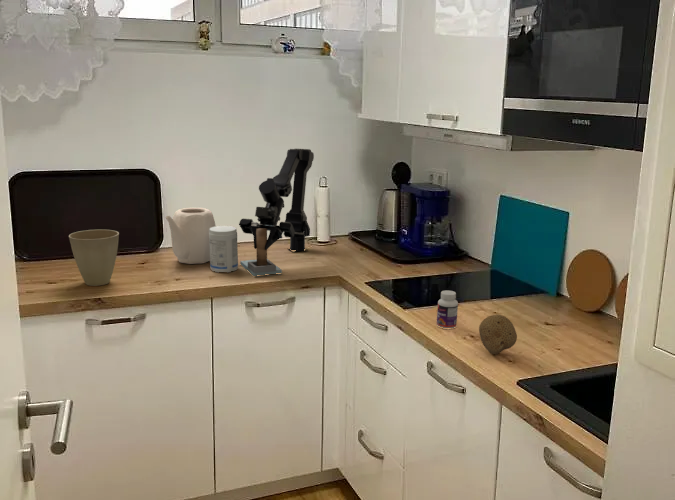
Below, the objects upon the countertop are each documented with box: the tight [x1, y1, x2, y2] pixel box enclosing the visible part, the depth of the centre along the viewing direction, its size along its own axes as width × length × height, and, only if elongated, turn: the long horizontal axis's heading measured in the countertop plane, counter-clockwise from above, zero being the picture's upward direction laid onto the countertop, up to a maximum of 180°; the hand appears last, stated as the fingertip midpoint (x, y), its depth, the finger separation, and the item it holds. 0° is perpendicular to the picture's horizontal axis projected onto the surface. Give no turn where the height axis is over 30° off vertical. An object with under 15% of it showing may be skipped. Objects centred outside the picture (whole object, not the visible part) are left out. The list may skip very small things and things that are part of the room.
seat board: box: [239, 258, 283, 277], centre depth 237 cm, size 17×10×4 cm, turn 24°
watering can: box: [165, 207, 217, 265], centre depth 244 cm, size 16×27×19 cm, turn 154°
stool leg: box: [255, 228, 268, 266], centre depth 231 cm, size 4×4×13 cm
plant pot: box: [68, 229, 120, 287], centre depth 216 cm, size 15×15×16 cm
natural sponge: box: [478, 314, 518, 355], centre depth 167 cm, size 9×9×10 cm
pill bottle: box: [436, 290, 459, 329], centre depth 185 cm, size 5×5×10 cm
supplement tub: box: [209, 225, 239, 273], centre depth 235 cm, size 10×10×15 cm
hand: (260, 248), depth 230 cm, fingers closed on stool leg, 3 cm apart
